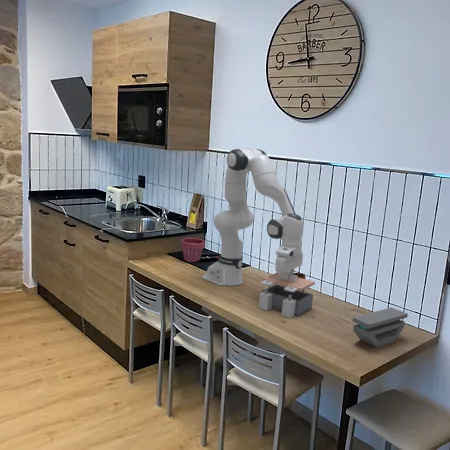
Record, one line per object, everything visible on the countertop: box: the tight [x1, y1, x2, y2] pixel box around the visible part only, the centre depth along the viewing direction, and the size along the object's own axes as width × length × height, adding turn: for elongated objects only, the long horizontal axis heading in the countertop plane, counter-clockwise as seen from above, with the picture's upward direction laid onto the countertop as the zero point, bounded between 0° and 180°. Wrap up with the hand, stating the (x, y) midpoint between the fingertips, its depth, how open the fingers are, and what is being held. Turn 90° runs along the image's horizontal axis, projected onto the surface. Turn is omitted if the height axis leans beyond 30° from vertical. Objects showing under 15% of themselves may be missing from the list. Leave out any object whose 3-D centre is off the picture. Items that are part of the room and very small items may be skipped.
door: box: [260, 272, 316, 292], centre depth 220 cm, size 20×18×4 cm
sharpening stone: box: [352, 307, 409, 348], centre depth 193 cm, size 25×8×11 cm, turn 126°
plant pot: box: [180, 237, 206, 263], centre depth 289 cm, size 14×14×13 cm
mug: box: [293, 272, 306, 292], centre depth 245 cm, size 12×8×9 cm, turn 123°
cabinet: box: [258, 284, 314, 319], centre depth 222 cm, size 20×18×9 cm
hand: (288, 278), depth 222 cm, fingers closed on door, 2 cm apart
